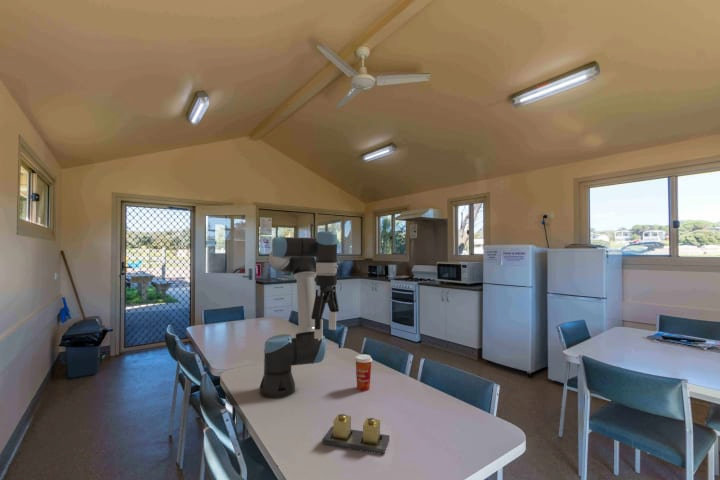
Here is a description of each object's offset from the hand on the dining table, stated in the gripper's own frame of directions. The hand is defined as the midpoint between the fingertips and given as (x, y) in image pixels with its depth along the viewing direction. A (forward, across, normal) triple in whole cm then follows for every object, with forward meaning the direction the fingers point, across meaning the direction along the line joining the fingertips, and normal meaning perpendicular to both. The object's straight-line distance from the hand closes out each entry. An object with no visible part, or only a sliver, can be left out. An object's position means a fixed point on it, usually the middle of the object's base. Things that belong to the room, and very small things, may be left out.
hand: (325, 333), depth 121 cm
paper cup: (+32, +33, -5) cm, 46 cm away
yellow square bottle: (+32, -8, -9) cm, 34 cm away
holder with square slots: (+32, -8, -14) cm, 36 cm away
